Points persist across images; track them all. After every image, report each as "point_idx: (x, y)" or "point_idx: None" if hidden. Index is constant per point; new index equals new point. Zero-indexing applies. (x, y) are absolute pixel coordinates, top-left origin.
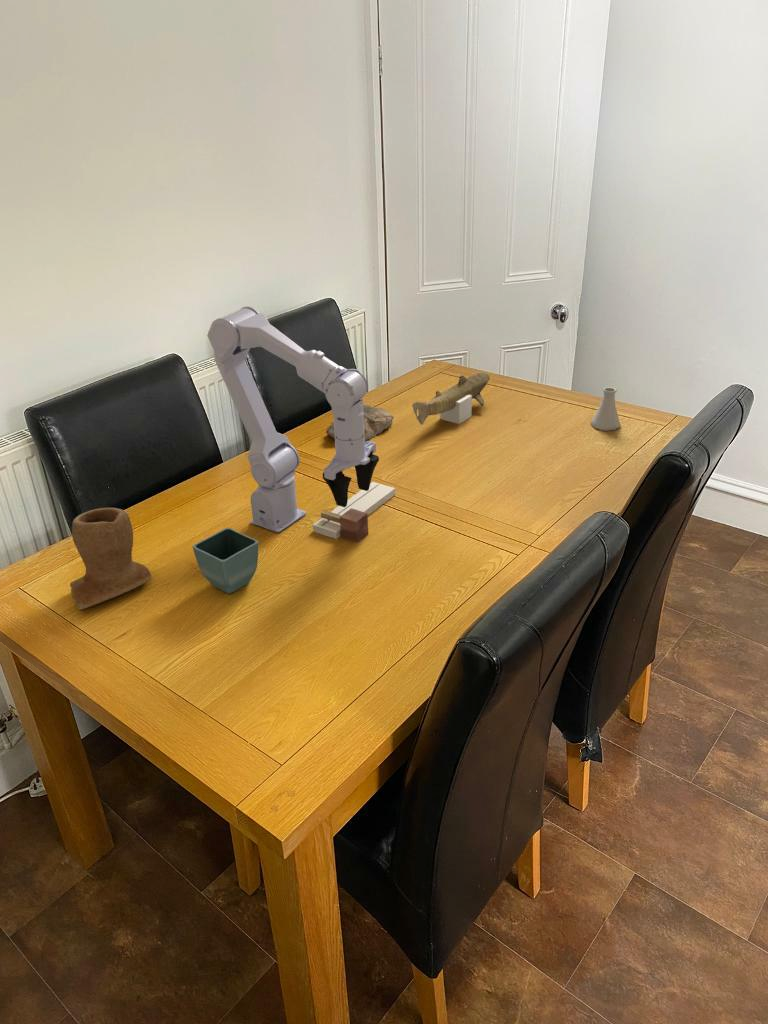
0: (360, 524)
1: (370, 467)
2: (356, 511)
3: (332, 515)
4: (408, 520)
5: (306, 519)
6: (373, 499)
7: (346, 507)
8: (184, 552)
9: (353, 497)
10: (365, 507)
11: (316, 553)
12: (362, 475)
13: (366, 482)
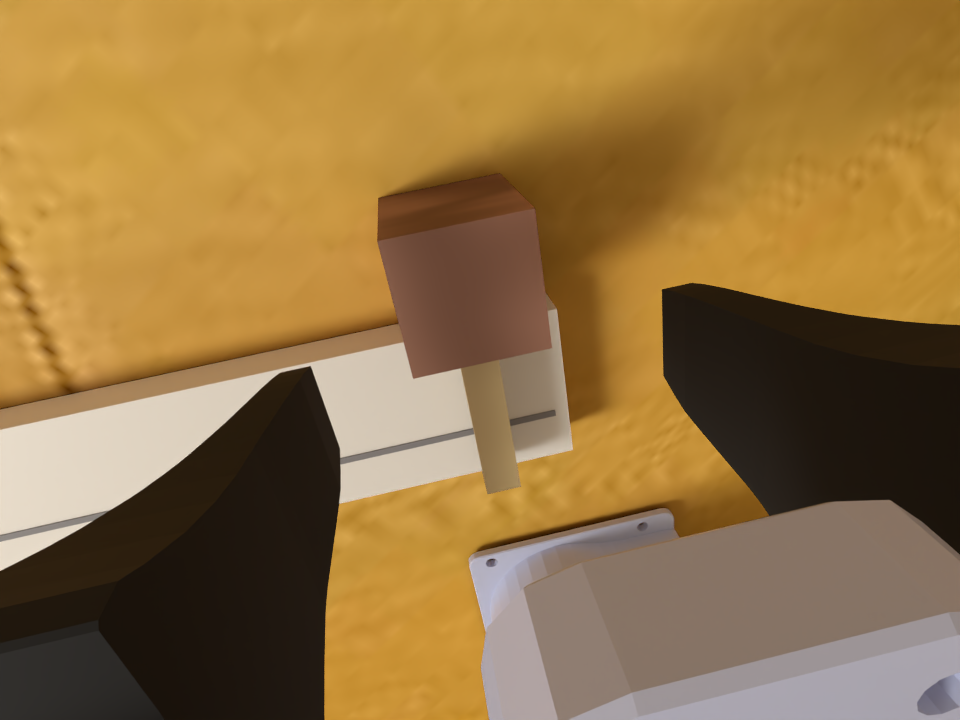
0: (470, 208)
1: (203, 543)
2: (418, 321)
3: (502, 423)
4: (27, 116)
5: (502, 519)
6: (117, 439)
7: None
8: None
9: None
10: (225, 401)
11: (711, 262)
12: (298, 526)
13: (294, 426)
